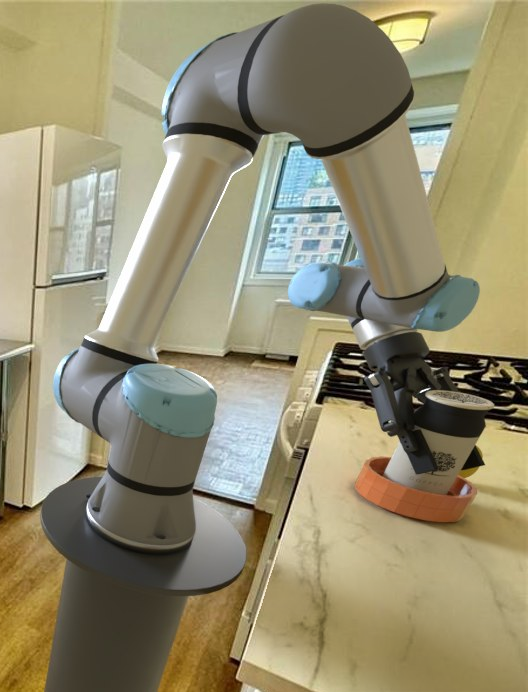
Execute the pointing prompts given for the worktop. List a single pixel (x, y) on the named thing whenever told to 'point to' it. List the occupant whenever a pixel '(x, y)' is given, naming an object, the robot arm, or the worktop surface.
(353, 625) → the worktop surface
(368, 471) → the bowl
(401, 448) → the travel mug
